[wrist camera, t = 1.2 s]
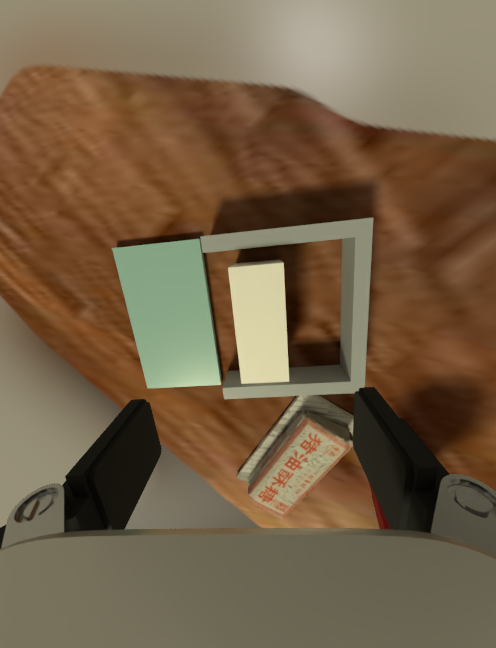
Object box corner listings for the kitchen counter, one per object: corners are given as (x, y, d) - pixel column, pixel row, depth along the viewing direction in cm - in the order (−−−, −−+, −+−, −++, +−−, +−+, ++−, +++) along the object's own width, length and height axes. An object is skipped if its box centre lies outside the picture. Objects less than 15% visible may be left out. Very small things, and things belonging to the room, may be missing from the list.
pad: (201, 238, 27) (199, 238, 26) (222, 381, 32) (221, 384, 31) (116, 248, 28) (112, 248, 27) (150, 385, 33) (147, 388, 32)
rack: (356, 222, 25) (373, 217, 21) (351, 374, 30) (364, 392, 27) (209, 238, 27) (200, 236, 23) (229, 381, 32) (224, 399, 28)
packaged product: (294, 531, 34) (232, 501, 33) (290, 497, 38) (236, 469, 37) (380, 446, 28) (309, 407, 27) (364, 418, 33) (303, 384, 32)
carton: (279, 259, 27) (283, 262, 21) (284, 356, 31) (289, 381, 25) (235, 263, 27) (228, 267, 22) (245, 358, 31) (241, 383, 25)
